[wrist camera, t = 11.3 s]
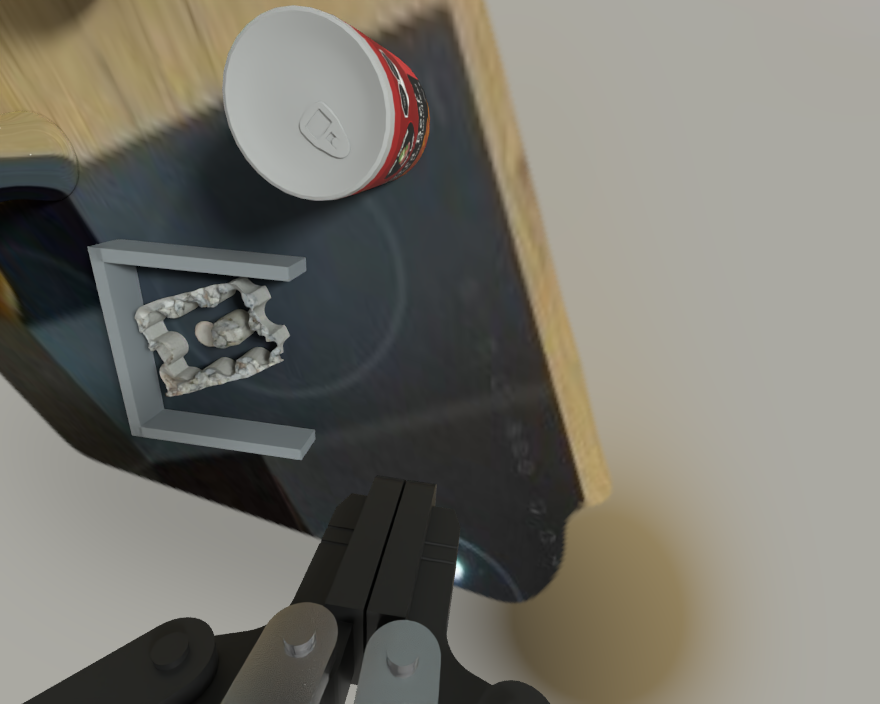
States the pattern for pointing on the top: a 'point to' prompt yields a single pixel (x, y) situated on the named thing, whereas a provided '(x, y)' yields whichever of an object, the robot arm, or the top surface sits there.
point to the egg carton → (211, 335)
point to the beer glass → (34, 159)
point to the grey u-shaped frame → (137, 361)
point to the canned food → (321, 105)
